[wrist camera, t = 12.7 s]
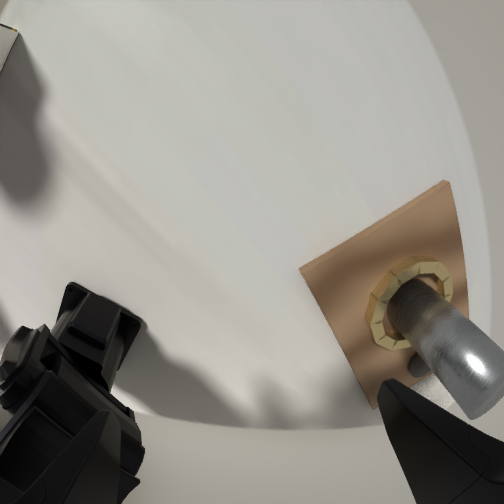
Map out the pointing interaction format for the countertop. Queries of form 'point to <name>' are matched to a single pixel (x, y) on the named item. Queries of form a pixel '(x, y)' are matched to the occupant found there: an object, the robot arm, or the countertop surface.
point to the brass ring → (391, 285)
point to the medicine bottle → (6, 42)
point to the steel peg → (450, 346)
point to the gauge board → (371, 272)
